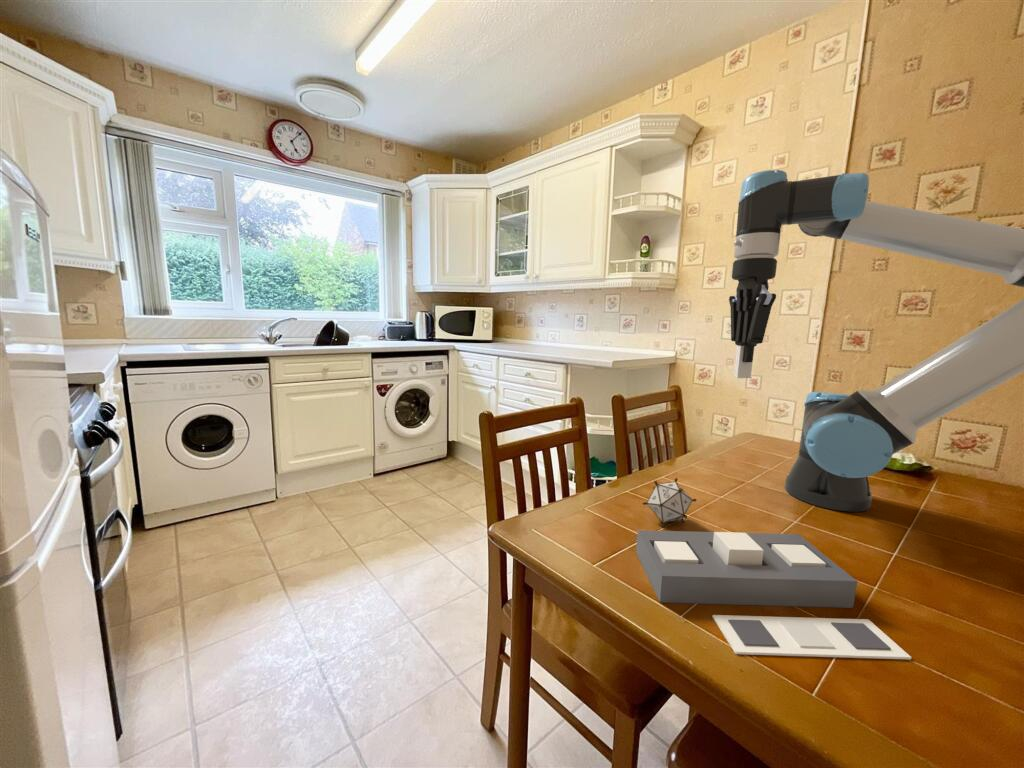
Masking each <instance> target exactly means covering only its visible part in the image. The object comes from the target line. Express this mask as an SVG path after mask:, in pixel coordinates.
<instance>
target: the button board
mask: <svg viewBox="0 0 1024 768" xmlns="http://www.w3.org/2000/svg"><path fill="white" fill-rule="evenodd" d="M714 532H715V531H689V530H688V531H685V530H684V531H683V530H682V531H681V530H678V531H677V530H676V531H675V530H648V529H647V530H645V529H644V530H642V529H641V530H639V529H638V530H637V534H636V547H635V553H636V556H637V558H638V560H639V562H640V564H641V566H642V568H643V570H644V573H645V574H646V576H647V578H648V581H649V582H650V585H651V587H652V589H653V591H654V593H655V595H656V597H657V599H658V602H659V603H661V604H662V603H665V604H667V603H668V604H670V603H671V604H696V605H697V604H701V605H702V604H703V605H704V604H705V605H706V604H707V605H738V606H739V605H741V606H770V607H771V606H774V607H775V606H776V607H805V608H807V607H811V608H841V609H842V608H843V609H845V608H846V609H853V608H854V603H855V598H856V592H857V586H858V580H856V579H855V578H854V577H853V576H851V574H849V573H848V572H847V571H845V569H843V568H841V567H840V566H839V565H838V564H836V563H835V562H834V561H833V560H832V559H830V558H829V557H828V556H826V555H825V554H824V553H823V552H821V551H820V550H819V549H818V548H817V547H815V546H814V545H813V544H811V543H810V542H809V541H808V540H806V539H805V538H804V537H803V536H801V535H800V534H798V533H795V534H794V533H765V532H760V533H759V532H745V533H746V534H747V535H748V536H749V537H751V538H752V539H753V540H754V541H755V542H756V543H757V544H758V545H759V546H760V547H761V548H762V549H763V550H764V551H763V559H762V566H758V565H726V564H725V563H724V562H723V560H722V559H721V558H720V557H719V556H718V554H717V553H716V552H715V551H714V549H713V548H712V547H713V538H714ZM654 541H670V542H686V543H687V545H688V546H689V547H690V549H691V550H692V551H693V553H694V554H695V556H696V557H697V558H698V560H699V562H698V564H682V563H662V562H661V560H660V558H659V557H658V555H657V553H656V551H655V550H654ZM772 544H787V545H804V546H805V547H807V548H808V549H809V550H810V551H811V552H813V553H814V554H815V555H816V556H818V557H819V558H820V559H821V560H822V561H824V562H825V563H826V567H796V566H789V565H788V564H787V563H786V562H785V561H784V560H783V559H782V558H781V557H780V556H779V555H778V554H777V553H775V552H774V551H773V550H772V549H771V547H772Z"/></svg>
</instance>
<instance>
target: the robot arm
mask: <svg viewBox="0 0 1024 768" xmlns="http://www.w3.org/2000/svg"><path fill="white" fill-rule="evenodd" d="M869 185H870V177H869V175H868V174H867V173H865V172H856V173H855V172H854V173H846V172H844V173H841V174H838V175H836V174H835V175H829V176H822V177H815V178H807V179H802V180H800V179H799V180H793V181H792V180H790V181H789V179H788V174H787V172H786V171H784V170H782V169H781V170H780V169H774V170H771V169H768V170H761V171H757V172H754V173H751V174H749V175H747V177H745V178H744V179H743V181H742V183H741V189H740V194H739V200H738V207H737V208H738V209H737V219H736V221H737V222H736V234H735V241H733V246H735V247H734V255H733V256H734V258H735V260H734V261H733V262H732V271H731V279H732V280H734V281H738V283H737V287H736V293H735V295H730V296H729V297H728V301H729V302H728V303H729V306H730V340H731V342H734V344H735V346H736V352H735V362H734V370H733V371H734V372H733V378H736V379H751V378H752V371H753V370H752V369H753V361H754V353H755V347H757V345H758V344H759V345H760V344H763V342H764V338H765V334H766V330H767V325H768V322H769V318H770V314H771V310H772V306H773V305H774V304H775V303H774V302H775V301H776V299H777V294H776V293H770V291H769V287H770V286H769V281H768V280H773V279H775V278H776V274H777V265H778V260H777V258H775V257H777V256H778V255H779V250H780V242H781V241H780V240H781V232H782V231H781V230H782V229H781V228H782V226H785V225H788V226H790V225H797V226H798V227H799V230H801V232H802V233H803V234H804V235H806V236H809V237H827V238H832V239H838V240H842V241H847V242H852V243H856V244H860V245H865V246H869V247H874V248H877V249H882V250H887V251H892V252H896V253H899V254H904V255H909V256H912V257H913V256H914V257H918V258H922V259H925V260H926V259H927V260H931V261H935V262H940V263H944V264H949V265H953V266H957V267H961V268H965V269H966V268H967V269H969V270H976V271H978V272H979V271H980V272H983V273H988V274H992V275H998V276H1000V277H1002V280H1003V281H1004V282H1005V284H1008V285H1012V286H1015V287H1016V286H1017V287H1019V288H1020V287H1021V288H1024V228H1019V227H1014V226H1008V225H1002V224H998V223H997V224H996V223H991V222H986V221H985V222H984V221H980V220H975V219H969V218H962V217H958V216H952V215H947V214H941V213H935V212H932V211H931V212H930V211H925V210H919V209H913V208H908V207H903V206H897V205H891V204H886V203H880V202H874V201H868V192H869ZM1022 373H1024V298H1023V299H1022V300H1020V301H1018V302H1016V303H1015V304H1014V305H1012V306H1010V307H1008V308H1007V309H1004V310H1003V311H1002V312H1000V313H998V314H997V315H995V316H994V317H992V318H991V319H989V320H987V321H985V322H984V323H983V324H981V325H979V326H978V327H976V328H974V329H972V330H971V331H970V332H968V333H965V334H964V335H963V336H961V337H960V338H958V339H957V340H954V341H953V342H952V343H950V344H948V345H946V346H945V347H943V348H942V349H940V350H939V351H936V352H935V353H934V354H932V355H930V356H929V357H927V358H925V359H924V360H922V361H921V362H919V363H918V364H915V365H914V366H912V367H911V368H909V369H908V370H906V371H904V372H903V373H901V374H900V375H897V376H896V377H895V378H892V380H890V381H888V382H887V383H885V384H883V385H882V386H880V387H878V388H876V389H874V390H870V389H869V390H866V389H858V390H856V391H854V392H853V393H852V394H844V393H836V392H835V393H834V392H833V393H832V392H822V391H811V392H809V393H808V394H807V396H806V399H805V402H804V404H803V406H804V412H803V413H804V414H803V421H802V427H801V428H802V429H801V434H800V442H799V450H798V454H797V455H798V456H797V458H796V460H795V462H794V463H793V466H792V467H791V469H790V471H789V473H788V475H787V476H786V478H785V482H784V490H785V491H786V492H787V493H788V494H789V495H790V496H792V497H794V498H796V499H798V500H799V501H802V502H805V503H808V504H811V505H814V506H817V507H820V508H824V509H829V510H834V511H842V512H849V513H850V512H853V513H854V512H857V513H858V512H865V511H868V510H870V509H871V507H872V499H873V496H872V492H871V487H870V483H869V478H868V477H870V476H873V475H875V474H877V473H879V472H880V471H882V470H883V469H885V468H886V467H887V465H888V464H889V463H890V461H891V459H892V457H893V455H894V454H896V453H899V452H900V451H902V450H903V449H904V450H905V449H906V448H907V447H909V446H911V445H913V444H915V443H916V439H917V435H918V434H917V433H918V431H919V429H921V428H922V427H925V426H926V425H929V424H931V423H932V422H935V421H936V420H937V419H939V418H941V417H943V416H945V415H947V414H949V413H951V412H952V411H955V410H956V409H958V408H960V407H962V406H963V405H965V404H968V403H969V402H971V401H973V400H974V399H977V398H978V397H980V396H982V395H984V394H985V393H988V392H989V391H991V390H993V389H995V388H996V387H997V388H998V386H1000V385H1002V384H1004V383H1006V382H1008V381H1010V380H1011V379H1013V378H1015V377H1017V376H1019V375H1020V374H1022Z"/></svg>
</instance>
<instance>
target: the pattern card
mask: <svg viewBox="0 0 1024 768" xmlns="http://www.w3.org/2000/svg"><path fill="white" fill-rule="evenodd" d="M711 617H712V619H713V621H714V622H715V624H716V625H717V627H718V628H719V629H720V632H721V633H722V635H723V637H724V638H725V640H726V641H727V643H728V644H729V646H730V647H731V650H733V653H734V654H735V655H752V656H754V655H755V656H784V657H785V656H786V657H819V658H845V659H846V658H852V659H879V660H880V659H883V660H890V659H891V660H912V656H911V655H909V653H907V652H906V651H905V650H904V649H903V648H902V647H900V646H899V645H898V644H897V643H896V642H895V641H894V640H893V639H891V638H890V637H889V636H888V635H887V634H886V633H884V631H882V630H881V629H880V628H879V627H878V626H876V625H875V623H873V621H871V620H870V619H866V618H860V619H859V618H836V617H835V618H832V617H829V618H828V617H827V618H826V617H800V616H799V617H796V616H794V617H793V616H767V615H765V616H764V615H730V614H728V615H727V614H726V615H725V614H723V615H722V614H712V616H711Z"/></svg>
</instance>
